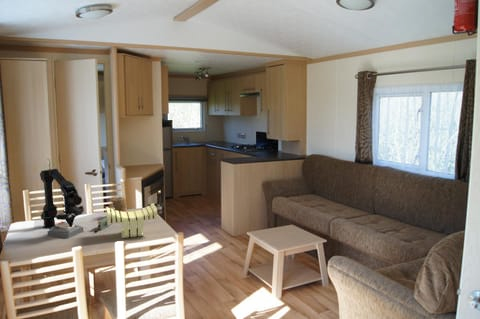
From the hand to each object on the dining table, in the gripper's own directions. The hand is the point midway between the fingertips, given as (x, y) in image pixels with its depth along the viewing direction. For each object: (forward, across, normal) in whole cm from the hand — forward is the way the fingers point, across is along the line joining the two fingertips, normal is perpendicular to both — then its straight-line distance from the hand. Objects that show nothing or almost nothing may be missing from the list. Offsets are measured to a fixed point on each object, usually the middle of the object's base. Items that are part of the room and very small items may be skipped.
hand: (71, 226), depth 260 cm
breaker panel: (+5, 0, +4) cm, 7 cm away
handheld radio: (+6, +19, -12) cm, 23 cm away
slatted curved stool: (+6, +11, -38) cm, 40 cm away
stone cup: (+6, +43, -9) cm, 44 cm away
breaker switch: (0, 0, +4) cm, 4 cm away
